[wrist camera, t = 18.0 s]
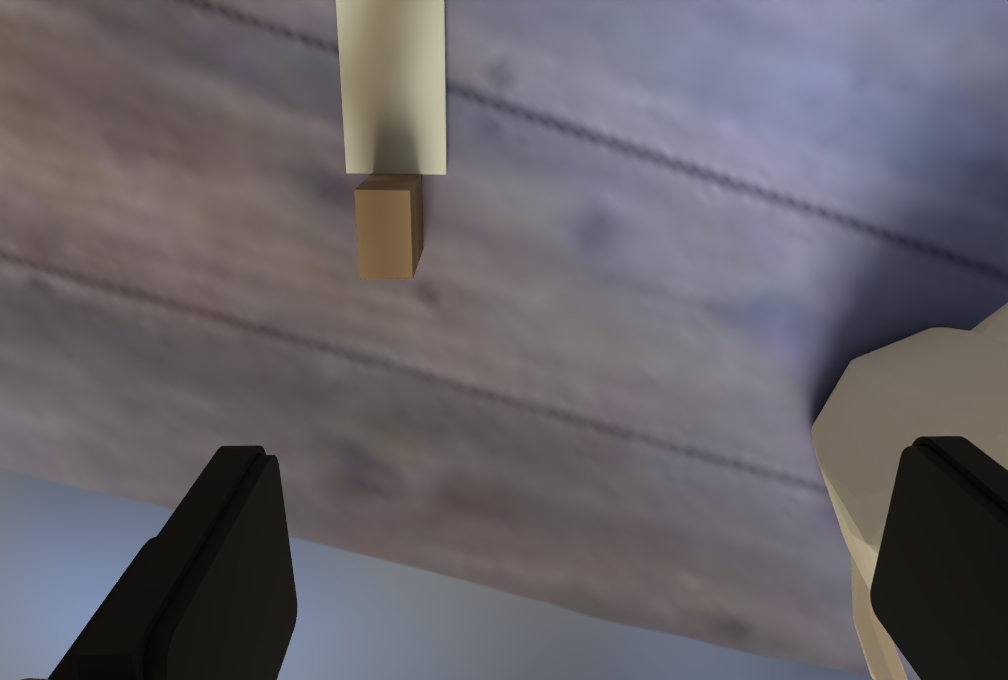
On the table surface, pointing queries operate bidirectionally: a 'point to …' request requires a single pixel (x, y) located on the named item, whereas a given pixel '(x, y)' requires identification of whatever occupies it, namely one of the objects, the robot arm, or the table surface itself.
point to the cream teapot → (905, 439)
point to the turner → (392, 123)
